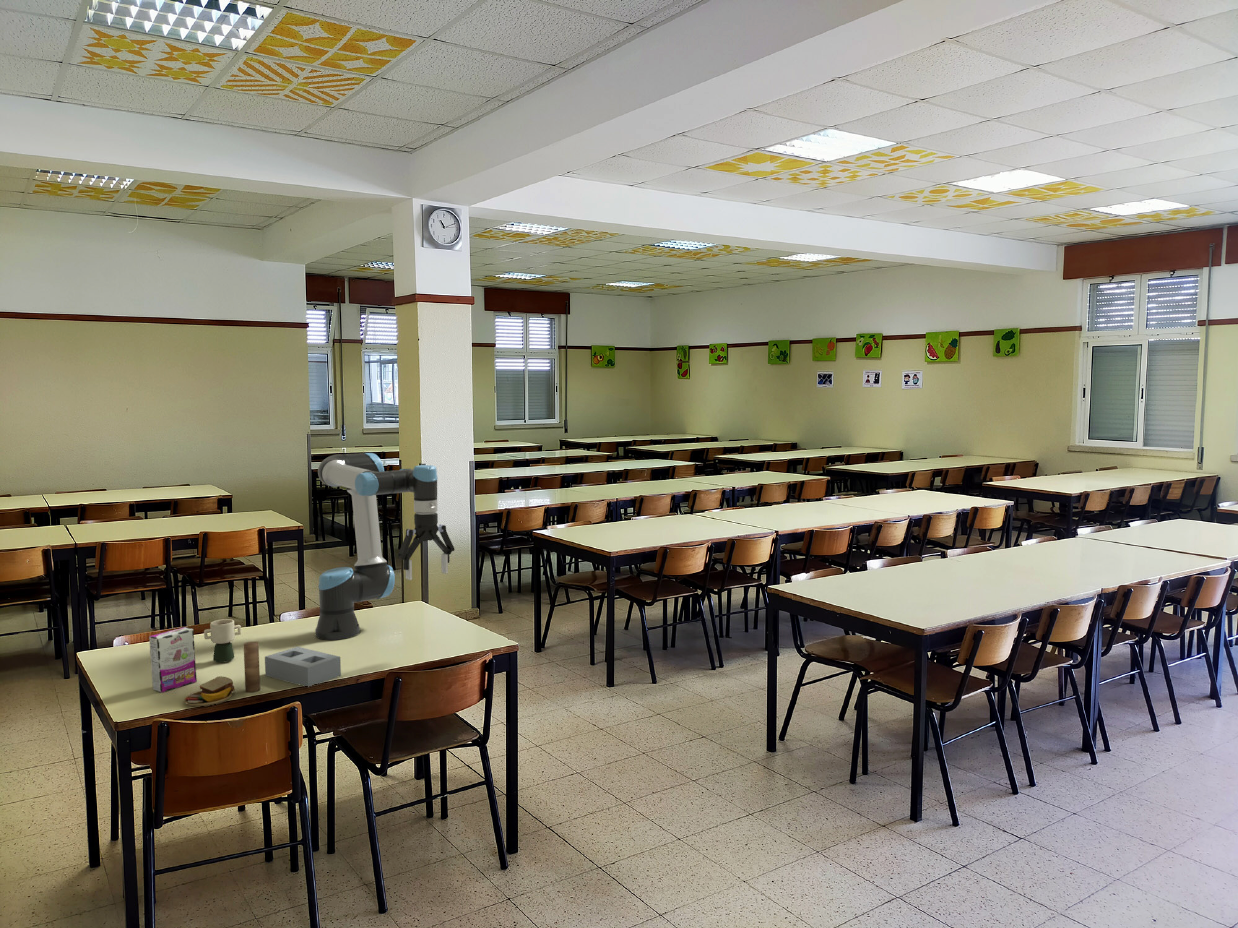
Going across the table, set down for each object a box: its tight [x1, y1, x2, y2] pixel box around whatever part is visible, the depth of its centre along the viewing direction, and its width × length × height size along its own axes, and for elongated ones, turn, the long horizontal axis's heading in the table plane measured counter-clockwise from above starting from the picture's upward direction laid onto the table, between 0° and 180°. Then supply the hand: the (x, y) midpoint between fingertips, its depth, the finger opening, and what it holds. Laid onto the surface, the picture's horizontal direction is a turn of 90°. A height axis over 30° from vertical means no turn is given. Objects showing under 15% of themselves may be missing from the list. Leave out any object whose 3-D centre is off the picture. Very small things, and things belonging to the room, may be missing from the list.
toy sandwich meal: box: [183, 676, 236, 708], centre depth 243 cm, size 12×14×5 cm
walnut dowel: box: [243, 641, 261, 693], centre depth 250 cm, size 4×4×14 cm
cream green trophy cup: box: [203, 618, 242, 663], centre depth 277 cm, size 11×7×13 cm, turn 122°
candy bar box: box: [148, 626, 198, 694], centre depth 253 cm, size 11×5×16 cm, turn 148°
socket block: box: [264, 646, 342, 688], centre depth 263 cm, size 20×12×6 cm, turn 58°
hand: (427, 576), depth 283 cm, fingers open, 13 cm apart
